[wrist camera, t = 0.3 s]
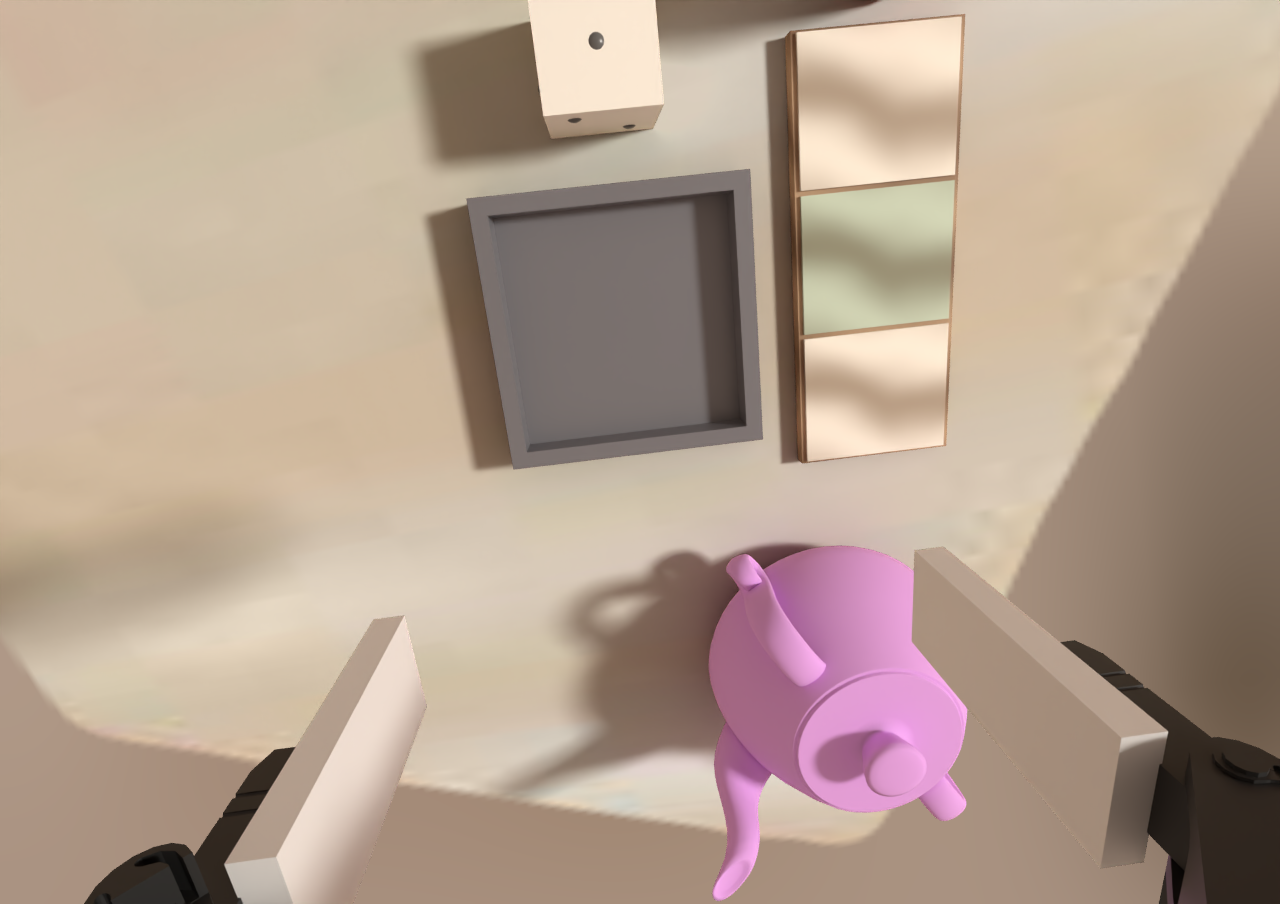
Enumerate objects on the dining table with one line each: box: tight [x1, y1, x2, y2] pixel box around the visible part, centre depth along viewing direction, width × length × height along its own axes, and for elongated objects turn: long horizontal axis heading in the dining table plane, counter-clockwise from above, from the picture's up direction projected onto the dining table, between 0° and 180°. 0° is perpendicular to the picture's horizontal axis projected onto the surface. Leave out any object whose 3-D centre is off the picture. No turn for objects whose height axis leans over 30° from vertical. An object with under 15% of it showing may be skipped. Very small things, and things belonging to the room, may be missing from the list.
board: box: [785, 14, 965, 463], centre depth 37 cm, size 37×13×1 cm, turn 6°
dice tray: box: [467, 169, 763, 469], centre depth 39 cm, size 16×16×2 cm
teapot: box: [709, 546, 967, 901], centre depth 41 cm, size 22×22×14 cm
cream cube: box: [528, 0, 664, 139], centre depth 33 cm, size 6×6×6 cm
